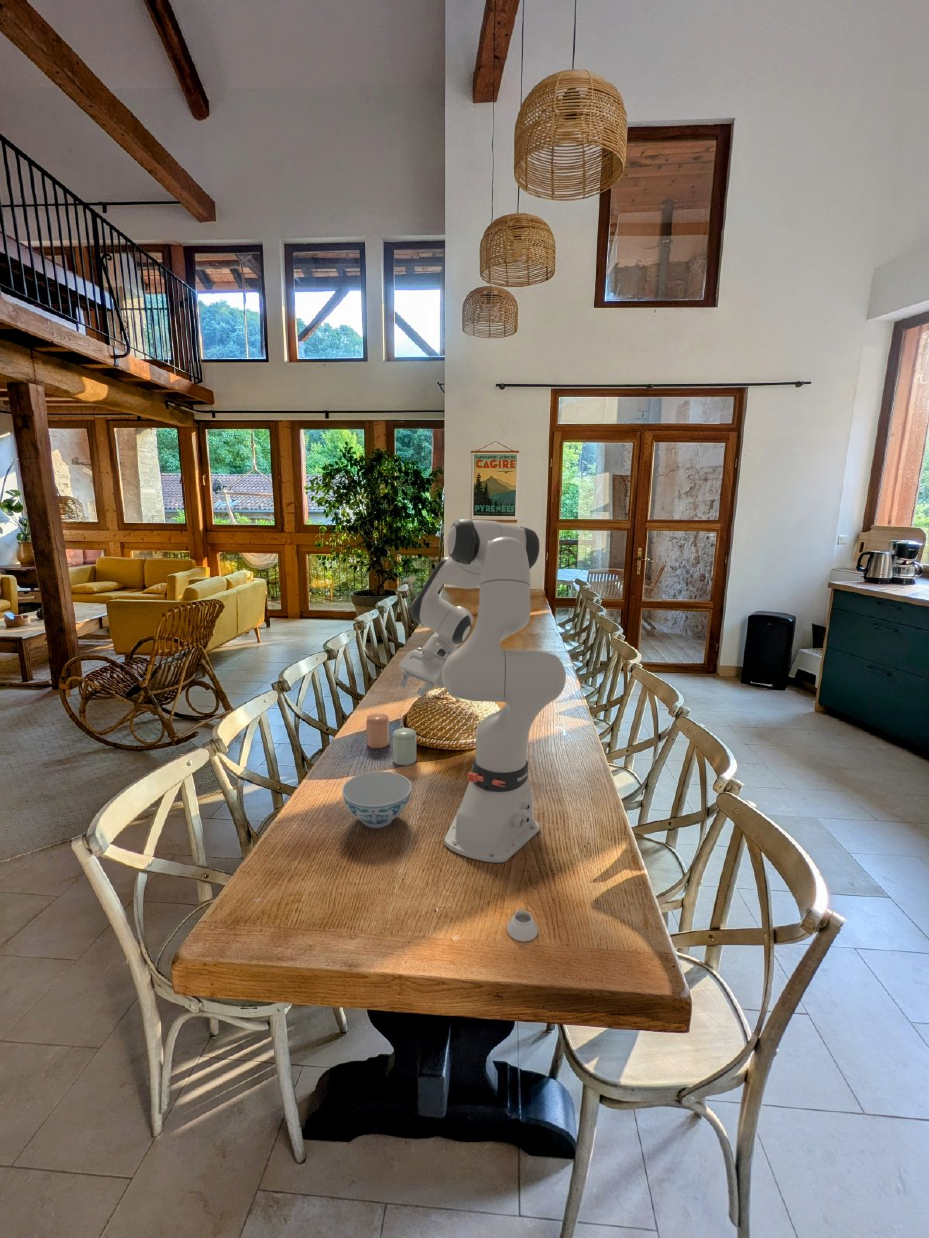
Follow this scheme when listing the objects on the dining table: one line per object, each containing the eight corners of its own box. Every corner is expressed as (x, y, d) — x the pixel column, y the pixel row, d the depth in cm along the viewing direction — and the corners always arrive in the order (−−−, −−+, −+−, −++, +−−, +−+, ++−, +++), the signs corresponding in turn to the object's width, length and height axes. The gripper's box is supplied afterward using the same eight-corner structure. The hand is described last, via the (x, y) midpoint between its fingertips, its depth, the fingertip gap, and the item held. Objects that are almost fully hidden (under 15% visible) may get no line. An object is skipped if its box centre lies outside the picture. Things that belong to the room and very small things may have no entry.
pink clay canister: (392, 744, 163) (392, 718, 161) (374, 749, 159) (374, 723, 157) (381, 737, 167) (380, 711, 166) (363, 742, 163) (363, 716, 162)
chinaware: (393, 845, 116) (393, 811, 114) (329, 830, 120) (328, 797, 119) (422, 808, 129) (422, 777, 128) (364, 796, 134) (363, 766, 133)
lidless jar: (508, 919, 96) (505, 941, 91) (509, 903, 96) (506, 925, 91) (538, 922, 95) (536, 945, 91) (538, 907, 95) (537, 929, 90)
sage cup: (420, 760, 153) (420, 733, 151) (401, 767, 149) (401, 738, 147) (407, 753, 157) (407, 726, 156) (389, 759, 153) (389, 731, 152)
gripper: (410, 640, 177) (384, 676, 173) (451, 654, 162) (424, 694, 158) (421, 652, 181) (396, 687, 177) (463, 666, 166) (436, 705, 162)
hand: (409, 690), depth 167 cm, fingers open, 8 cm apart
